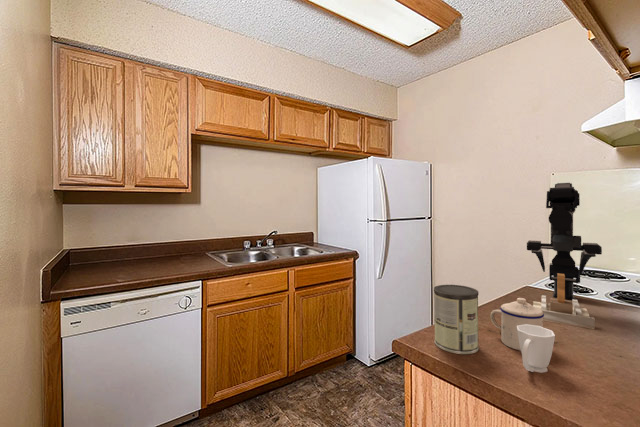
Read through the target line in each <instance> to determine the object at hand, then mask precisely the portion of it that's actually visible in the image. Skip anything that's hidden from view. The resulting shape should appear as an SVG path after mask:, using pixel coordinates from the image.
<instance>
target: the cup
mask: <svg viewBox="0 0 640 427" xmlns="http://www.w3.org/2000/svg"><path fill="white" fill-rule="evenodd" d="M517 331H518V337H519V343H520V349H521V351H520V353H521V357H522V358H521V359H522V365H523V368H524V369H525V370H526V371H529V372H531V373H533V372H534V373H535V372H536V373H540V374H541V373H547V372H548V368H547V367H548V366H549V365H550V361H551V358H552V354H553V350H554V344H555V338H556V335H555V332H554V331H553V330H551V329H549V328H546V327H541V326H535V325H528V324H525V325H518V326H517Z"/></svg>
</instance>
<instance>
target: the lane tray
mask: <svg viewBox="0 0 640 427" xmlns="http://www.w3.org/2000/svg"><path fill="white" fill-rule="evenodd" d="M571 301H572V305H573V314H567V313H560V312H554V311H550V302H548V303H547V295H541V302H540V301H532V306H534V307H536V308H539V309H540V310H542V312H543V314H544V317H543V322H544V321H545V322H551V323H556V324H557V323H558V324H562V325H569V326H573V327H574V326H575V327H581V328H584V329H585V328H586V329H592V330H596V329H595V327H596V325H595V324H596V323H595V321H596V319H595V317H592V316H590V314H589V311H588V310H587V308H584V307H583V308H582V307H580V303H579V301H578V299H575V300H574V299H571Z"/></svg>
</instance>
